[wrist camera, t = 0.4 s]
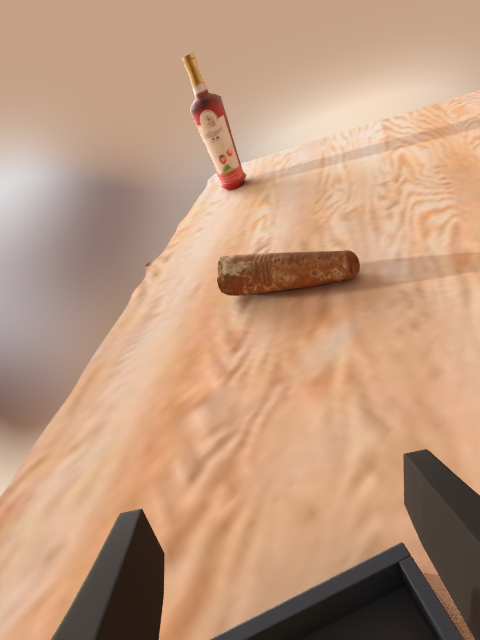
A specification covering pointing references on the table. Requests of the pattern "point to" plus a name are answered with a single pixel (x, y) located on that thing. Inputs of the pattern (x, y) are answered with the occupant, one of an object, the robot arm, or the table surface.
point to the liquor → (214, 129)
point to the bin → (358, 607)
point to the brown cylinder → (283, 271)
